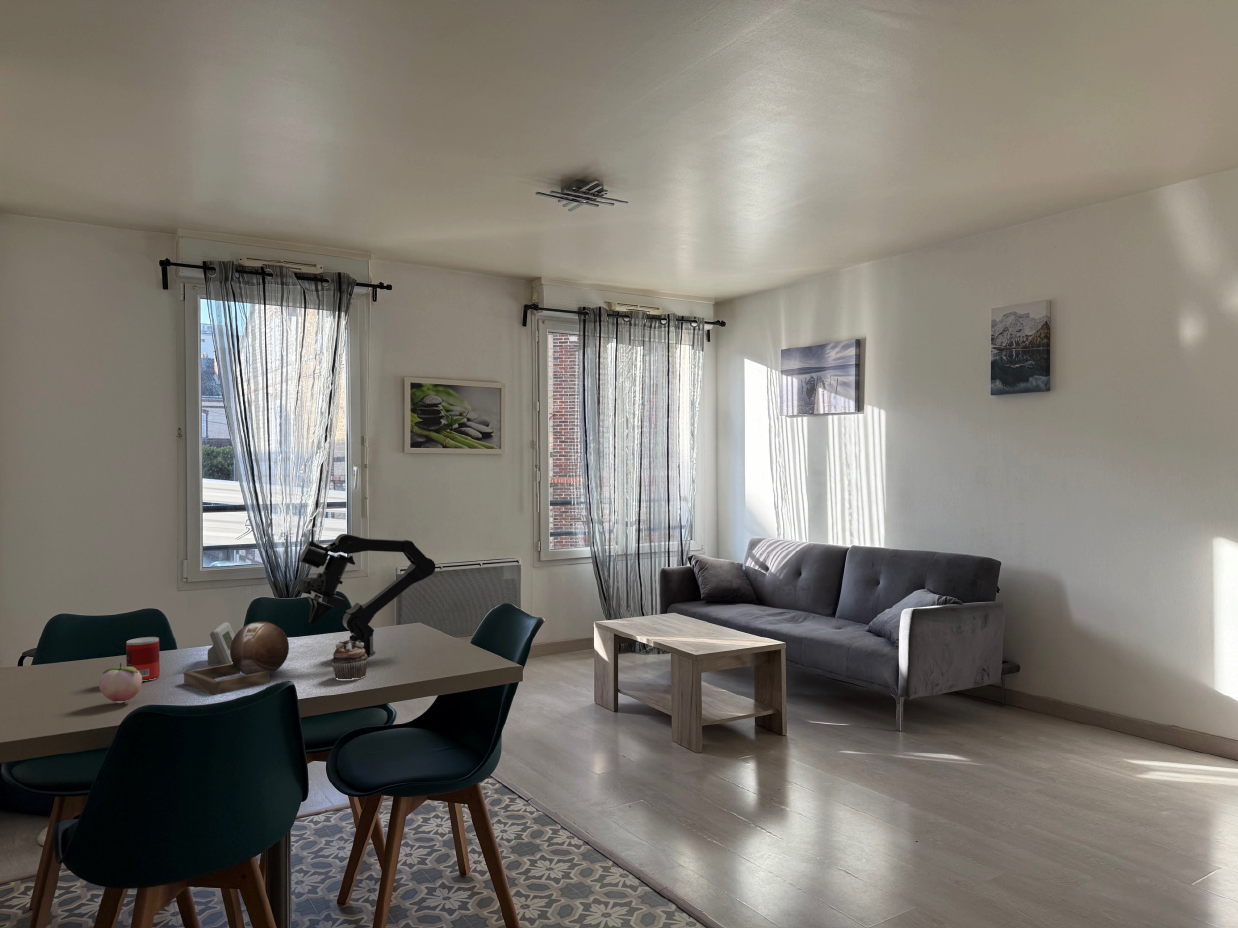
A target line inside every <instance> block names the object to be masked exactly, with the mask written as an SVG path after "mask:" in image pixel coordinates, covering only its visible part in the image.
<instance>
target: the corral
mask: <svg viewBox="0 0 1238 928" xmlns="http://www.w3.org/2000/svg"><path fill="white" fill-rule="evenodd" d="M239 674H241V672H240V671H239V670H238V669H237V668H236V667H235V666H234V664H233V662H232V663H229V664H224V665H223V664H218V665H212V666H209V667H203V668H198V669H192V670H186V671H183V684H184V685H185V684H186V685H188V686H191V687H193V688H196V689H199V690H202V691H204V692H206V693H209V694H211V695H218V694H223V693H227V692H228V693H229V692H233V691H237V690H242V689H247V688H252V687H256V686H262V685H266V684H269V683H270V681H271V680H270V675H269V671H263V672H258V673H253V674H248V675H245V674H243V675H239ZM233 675H239V676H234V677H228V676H233ZM223 677H228V678H224V679H218V678H223ZM217 679H218V680H217Z"/></svg>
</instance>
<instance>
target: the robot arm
mask: <svg viewBox="0 0 1238 928" xmlns="http://www.w3.org/2000/svg"><path fill="white" fill-rule="evenodd" d="M329 552H330V553H329ZM361 552H389V553H402V554H403V555H404V556H405V558H406V559H407V561H408V562H410V564H409V565H408V566H407V568H406V569H405V571H404V572H403V573H402V574H401V575H400V576H398V577H397V578H396V579H395V580H394V581H392V582H391V583H390V584H389V585H388V586H386V587H385V588H384V589H383V590H381V591H380V592H378V594H376V595H375V596H374V597H372V598H371V599H370V600H369V601H367V602H365V603H363V604H360V603H359V602H355V604H354V605H352V607H350V608H349V609H346V610H345V608H346V607H347V600H346V599H345V598H342V597H340V596H338V593H336V591H337V589H338V587H339V585H343V583H344V581H343V580H342V578H343V576H344V573H345V571H346V568H347V566H348V564H350V565H352V566H355V565H356V562H355V561H354V557H353V555H349V554H358V553H361ZM331 553H333V554H337V555H336V556H335V555H333V554H331ZM341 553H342V554H341ZM343 554H346V556H345V555H343ZM347 555H348V556H347ZM299 563H301V564H305V565H308V566H310V567H313V568H315V569H320V567H324V568H323V571H322V573H321V572H319V573H317V575H316V576H314V577H313V576H310V577H307V576H306V577H299V578H298V585H297V586H298V587H297V589H298V592H300V593H302V594H307V595H309V596H306V598H307V599H308V601H309V603H310V609H309V611H310V612H309V620H308V623H309V624H310V625H314V624H315V623H317V621H318V620H319V619H321V618H322V617H323V616H324V615H325V614H327V612H329V611H330V610H331V609H334V608H338V609H342V610H345V614H344V615H343V617H342V625H343V626H344V627H345V628H346V629H347V630H348V631H349V634H351V635H349V640H352V641H356V640H360V641H361V642H362V643H364V646H363V648H364V649H365V653H366V654H367V656H368V658H370V657H372V656H373V655H374V654H375V653H376V650H375V651H374V633H375V629H374V628H373V627H372V626H371V625H369V624H370V623H371V622H372V619H373V618H374V617H375V615H376V614H377V613H378V612H379V611H381V610H382V609H384V607H386V606H387V605H388V604H390V603H391V602H392V601H393V600H395V599H396V598H398V597H399V596H400V595H401V594H402V593H403V592H404V591H406V590H407V589H409V588H410V587H411V586H412V585H413V584H416V583H418V582H421V581H423V580H425V579H427V578H428V577H430V576H432V575H433V574H434V573H435V571H436V563H435V561H434V560H433V559H432V558H429V557H427V556H426V555H425V554H424V553H423V552H422V551H421V549H419V548H418V547H417V546H416V545H415V544H414V542H413V541H412V540H408V539H385V538H384V539H383V538H366V537H362V536H357V535H354V534H353V535H352V534H349V533H341V534H339V535H338V536H337V537H335V539H334V541H332V542H331V543H330V544H328V545H325V546H323V545H320V544H318V543H316V542H314V541H312V540H308V543H307V544H306V545H305V547H304V549H303V550H302V552H301V555H300V557H299Z"/></svg>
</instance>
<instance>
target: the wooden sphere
mask: <svg viewBox="0 0 1238 928" xmlns="http://www.w3.org/2000/svg"><path fill="white" fill-rule="evenodd" d="M234 635H235V637H234V638H233V640H232V643H231V647H230V656H231V660H232V663H233V664H234V666H235V667H236V668H237V669H238V670H239V671H240V674H243V675H248V674H253V673H258V672H263V671H269V676H270V675H272V674H273V673H275V672H277V671H278V670H279V669H280V668H281V667H282V666H283V664H284V663H285V662H286V660H287V657H288V656H289V651H290V644H289V639H288V637H287V635H286V633H285V632H284V630H283V629H282V628H281V627H280V626H278V625H276V623H272V622H269V621H262V620H261V621H255V622H251V623H248V624H246V625H244V626H243V627H242V628H240V629H239V631H237V633H236V634H234Z"/></svg>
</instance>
